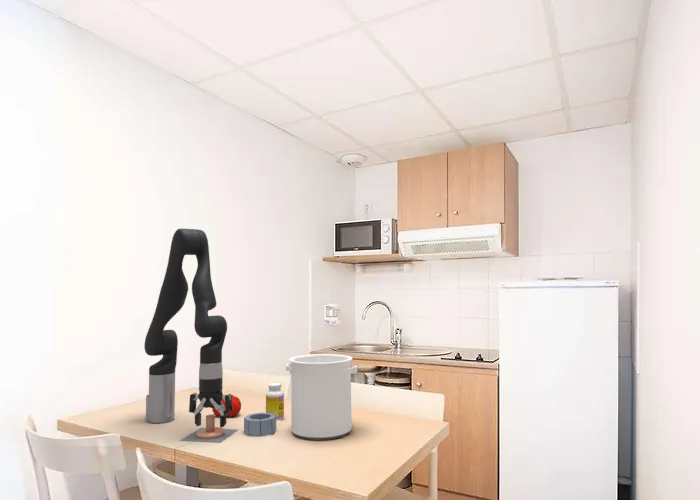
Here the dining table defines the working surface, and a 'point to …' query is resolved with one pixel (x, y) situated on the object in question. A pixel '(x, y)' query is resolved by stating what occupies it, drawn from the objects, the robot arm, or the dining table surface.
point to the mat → (215, 440)
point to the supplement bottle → (275, 401)
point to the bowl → (260, 424)
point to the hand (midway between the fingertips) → (210, 426)
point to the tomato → (235, 407)
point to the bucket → (321, 395)
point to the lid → (210, 429)
